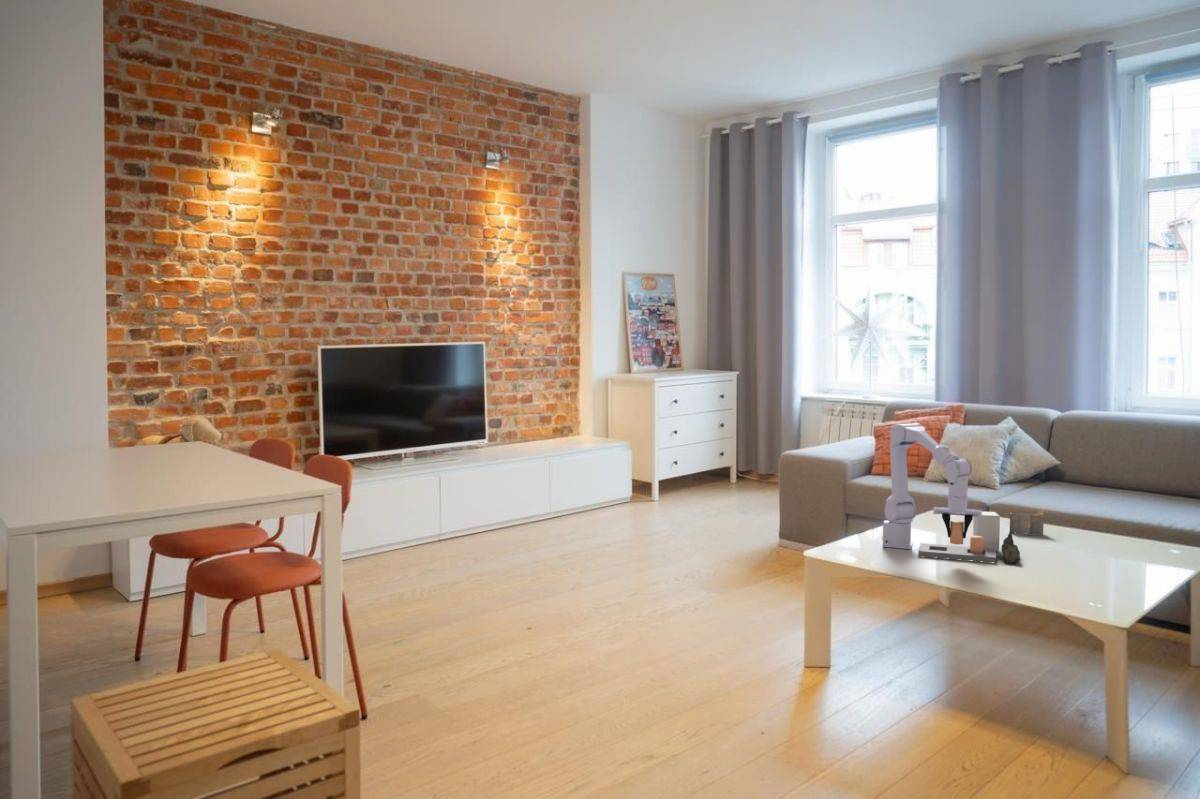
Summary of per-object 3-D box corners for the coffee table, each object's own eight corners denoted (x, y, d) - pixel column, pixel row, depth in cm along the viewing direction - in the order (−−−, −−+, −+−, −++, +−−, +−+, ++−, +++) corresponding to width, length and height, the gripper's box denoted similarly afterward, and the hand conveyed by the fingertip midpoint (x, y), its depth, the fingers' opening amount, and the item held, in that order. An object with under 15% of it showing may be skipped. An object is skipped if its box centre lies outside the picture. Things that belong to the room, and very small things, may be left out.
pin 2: (969, 558, 297) (970, 537, 296) (969, 555, 300) (970, 535, 300) (982, 559, 295) (983, 538, 295) (982, 556, 299) (983, 536, 298)
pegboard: (918, 556, 299) (918, 550, 299) (920, 548, 310) (920, 543, 310) (996, 563, 290) (996, 557, 290) (995, 554, 301) (995, 549, 301)
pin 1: (949, 543, 288) (950, 522, 288) (950, 541, 292) (950, 520, 291) (963, 544, 287) (963, 523, 286) (963, 542, 290) (963, 521, 290)
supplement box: (999, 551, 305) (1000, 515, 304) (976, 551, 306) (977, 515, 305) (994, 546, 312) (995, 511, 311) (972, 545, 314) (973, 510, 313)
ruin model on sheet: (1043, 535, 331) (1044, 509, 330) (1043, 536, 328) (1043, 510, 328) (1009, 532, 336) (1010, 506, 336) (1009, 533, 334) (1010, 508, 333)
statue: (1020, 573, 288) (1015, 547, 306) (1024, 558, 286) (1019, 533, 304) (999, 568, 290) (995, 543, 308) (1003, 554, 288) (999, 529, 306)
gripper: (933, 496, 287) (932, 537, 288) (982, 499, 282) (980, 541, 283) (934, 492, 294) (933, 533, 295) (982, 495, 288) (980, 536, 289)
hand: (956, 537), depth 289 cm, fingers closed on pin 1, 4 cm apart
